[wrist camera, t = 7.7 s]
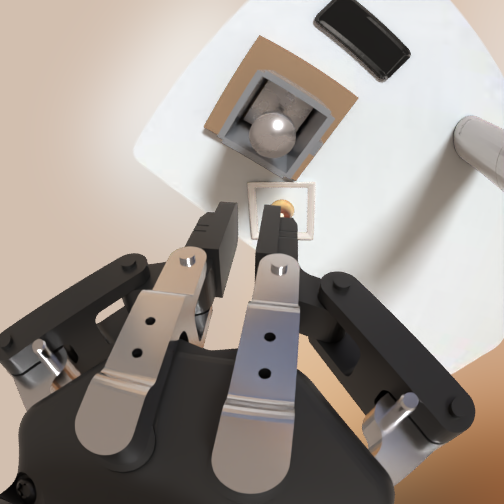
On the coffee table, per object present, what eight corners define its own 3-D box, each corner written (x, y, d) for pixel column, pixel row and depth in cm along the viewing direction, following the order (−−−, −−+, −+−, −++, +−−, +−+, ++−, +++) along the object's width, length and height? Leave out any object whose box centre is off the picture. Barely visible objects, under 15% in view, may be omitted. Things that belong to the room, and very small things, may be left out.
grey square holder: (356, 97, 39) (385, 111, 27) (295, 177, 49) (296, 222, 37) (260, 36, 35) (246, 21, 23) (205, 125, 46) (172, 151, 33)
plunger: (314, 105, 38) (328, 127, 25) (286, 144, 42) (284, 187, 29) (270, 77, 36) (258, 83, 23) (243, 118, 40) (218, 148, 27)
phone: (384, 82, 36) (312, 19, 32) (382, 81, 37) (312, 20, 33) (413, 53, 32) (343, -11, 28) (411, 53, 33) (342, -9, 29)
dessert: (312, 236, 57) (314, 250, 53) (252, 235, 58) (249, 249, 55) (315, 179, 50) (317, 190, 46) (247, 180, 51) (243, 190, 48)
